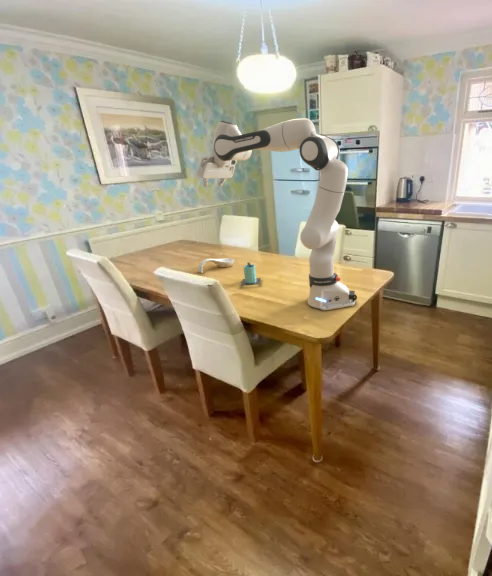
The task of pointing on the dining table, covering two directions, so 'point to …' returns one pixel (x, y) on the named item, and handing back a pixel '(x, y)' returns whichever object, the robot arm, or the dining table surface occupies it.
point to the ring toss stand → (251, 283)
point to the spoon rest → (221, 262)
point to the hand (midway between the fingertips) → (213, 186)
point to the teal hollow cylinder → (250, 274)
